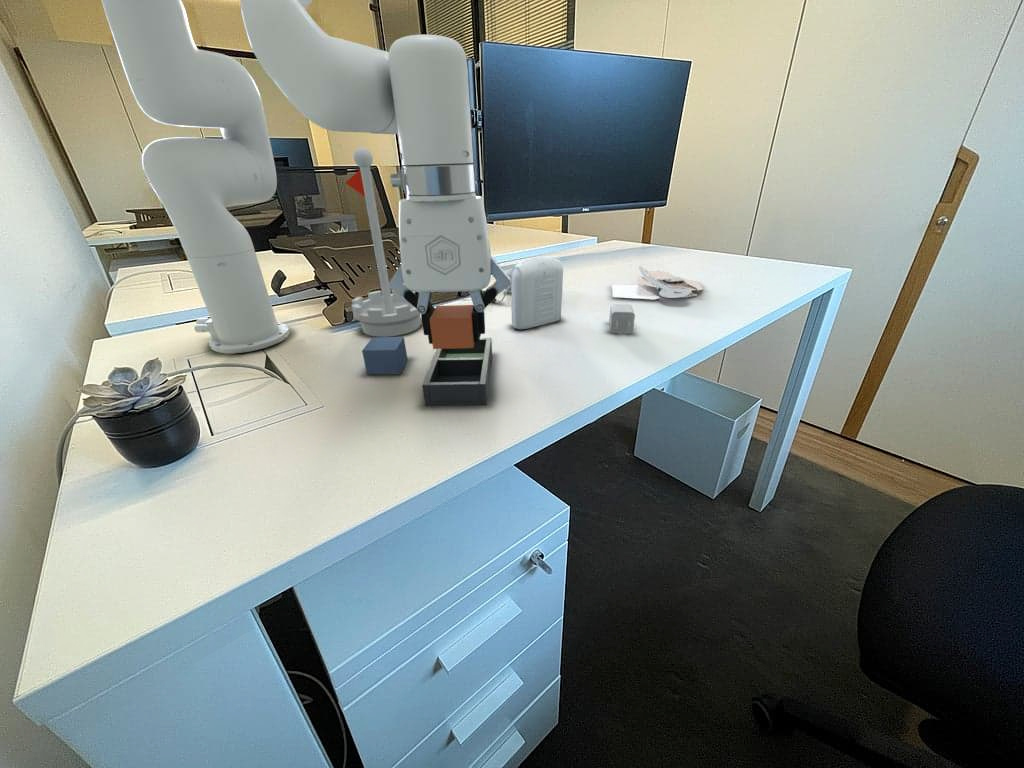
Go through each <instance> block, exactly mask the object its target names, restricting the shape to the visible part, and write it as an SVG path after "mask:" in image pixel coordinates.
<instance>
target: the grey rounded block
mask: <svg viewBox="0 0 1024 768" xmlns="http://www.w3.org/2000/svg"><path fill="white" fill-rule="evenodd" d="M511 270H512V271H511V293H510V294H511V295H510V296H511V297H510V299H511V300H510V301H511V304H510V305H511V309H510V310H511V323H512V327H513V328H514V329H517V330H525V329H526V330H527V329H531V328H535V327H540V326H543V325H547V324H552V323H556V322H558V321H561V319H562V308H563V307H562V306H563V284H564V282H563V281H564V266H563V264H562V261H561V260H560V259H558V258H554V257H550V256H533V257H530V258H527V259H525V260H522V261H520V262H519V263H517V264H515V265H514V266H513V267H512V269H511Z"/></svg>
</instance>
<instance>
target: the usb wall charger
mask: <svg viewBox="0 0 1024 768" xmlns="http://www.w3.org/2000/svg"><path fill="white" fill-rule="evenodd" d="M635 317H636V314H635V312H634V308H633V306H632V305H631V304H629V303H628V304H627V303H613V304H611V305H610V306H609V318H608V325H609V331H610V332H611V333H612V334H627V335H628V334H631V333H633V332H634V327H635Z"/></svg>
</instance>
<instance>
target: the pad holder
mask: <svg viewBox="0 0 1024 768" xmlns="http://www.w3.org/2000/svg"><path fill="white" fill-rule="evenodd" d="M492 360H493V342H492V337H480V341H479V343H475V342H474V346H473V348H453V349H435V352H434V355H433V357H432V360H431V361H430V365H429V367H428V369H427V372H426V374H425V377H424V379H423V382H422V384H421V388H422V395H423V402H424V406H425V407H437V406H438V407H439V406H487V405H488V398H489V388H490V380H491V379H490V378H491V371H492Z"/></svg>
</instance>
